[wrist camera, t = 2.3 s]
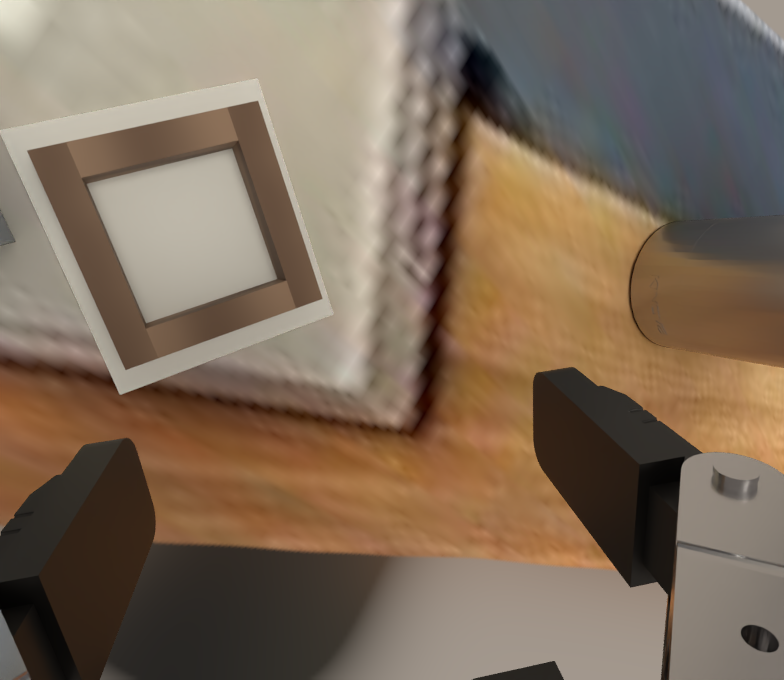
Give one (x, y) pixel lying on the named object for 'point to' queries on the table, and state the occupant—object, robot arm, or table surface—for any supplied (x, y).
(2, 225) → the grey rectangular bar
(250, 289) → the brown square frame
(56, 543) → the robot arm
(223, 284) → the mat
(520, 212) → the table surface
